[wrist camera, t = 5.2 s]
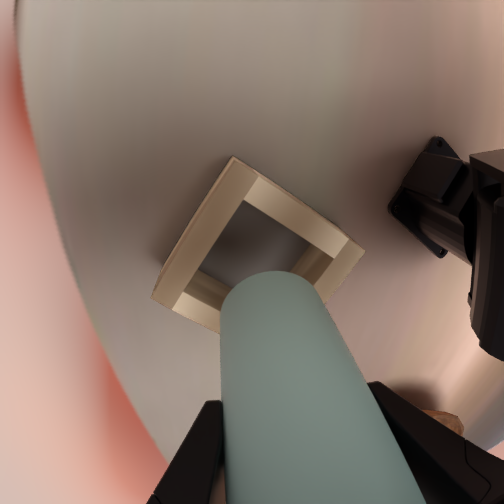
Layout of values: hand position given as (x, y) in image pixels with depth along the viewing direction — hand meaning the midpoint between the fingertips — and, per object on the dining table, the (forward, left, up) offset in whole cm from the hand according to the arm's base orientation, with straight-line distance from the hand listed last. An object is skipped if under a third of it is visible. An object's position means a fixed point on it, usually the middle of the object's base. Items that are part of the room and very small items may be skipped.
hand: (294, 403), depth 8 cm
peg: (0, 0, -4) cm, 4 cm away
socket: (0, 0, -12) cm, 12 cm away
